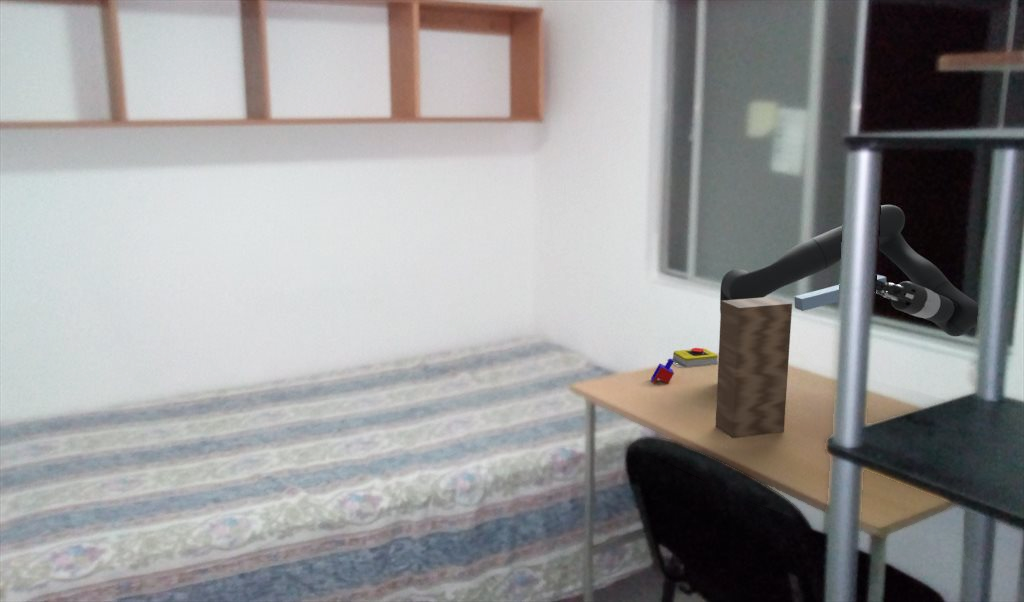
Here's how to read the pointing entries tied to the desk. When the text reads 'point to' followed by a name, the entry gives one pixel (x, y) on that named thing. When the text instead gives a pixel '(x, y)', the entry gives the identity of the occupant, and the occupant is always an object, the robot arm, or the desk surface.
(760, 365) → the upright
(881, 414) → the desk surface
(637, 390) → the desk surface
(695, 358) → the emergency button
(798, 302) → the bar
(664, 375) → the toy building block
